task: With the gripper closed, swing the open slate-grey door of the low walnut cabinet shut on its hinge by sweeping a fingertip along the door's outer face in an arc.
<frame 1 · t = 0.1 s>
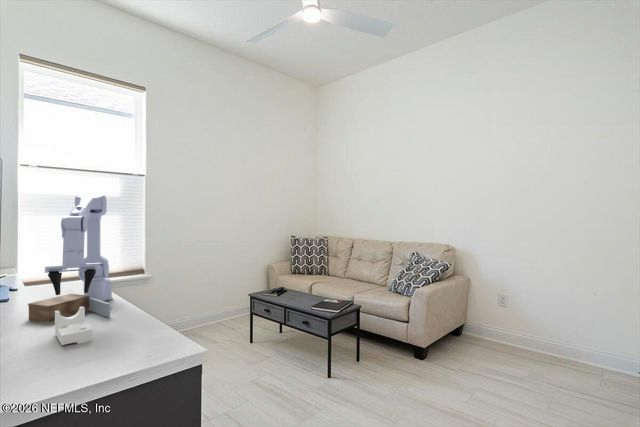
hand: (72, 293, 111), 10 cm above the table, tool pointing down, fingers open, 7 cm apart
door: (100, 306, 124), point 3 cm above the table, hinge at 75.0°
cabinet: (60, 315, 123), on the table
bracket: (73, 339, 101), on the table
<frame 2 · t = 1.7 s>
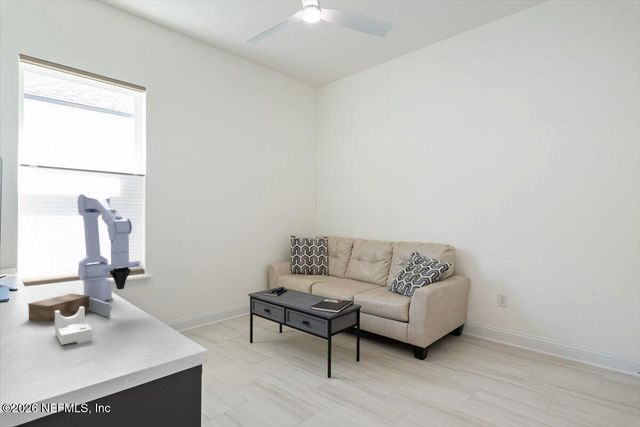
hand: (120, 288, 126), 9 cm above the table, tool pointing down, fingers closed
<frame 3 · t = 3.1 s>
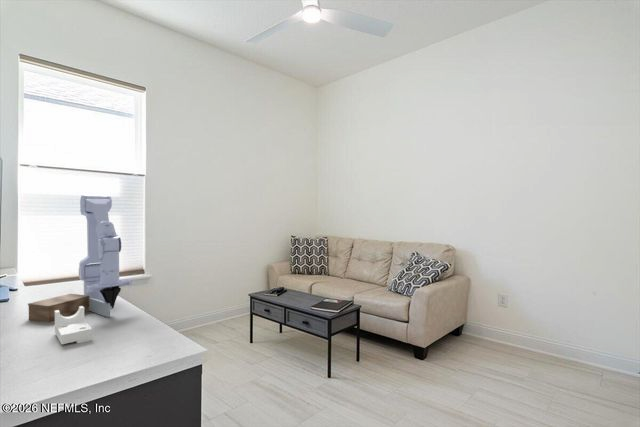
hand: (110, 308, 123), 2 cm above the table, tool pointing down, fingers closed
door: (100, 306, 124), point 3 cm above the table, hinge at 75.0°, touching gripper
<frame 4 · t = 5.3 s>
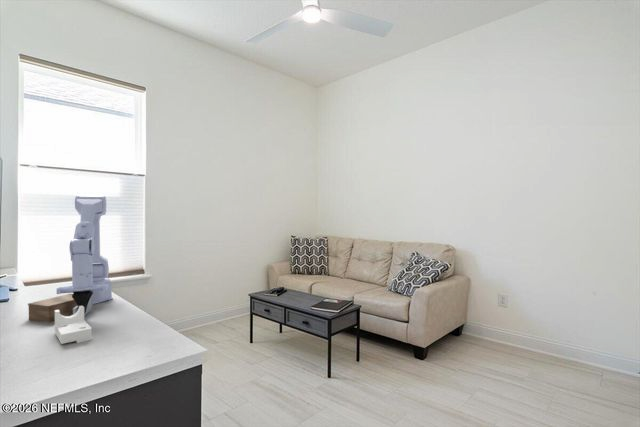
hand: (83, 313, 117), 2 cm above the table, tool pointing down, fingers closed
door: (84, 309, 121), point 3 cm above the table, hinge at 34.4°, touching gripper
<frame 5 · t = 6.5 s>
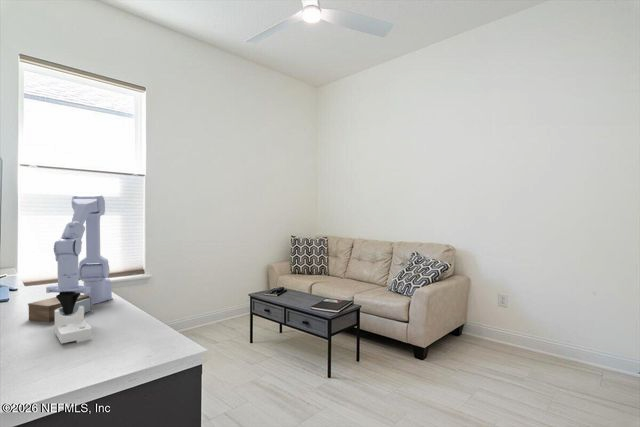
hand: (68, 314, 116), 2 cm above the table, tool pointing down, fingers closed
door: (76, 309, 121), point 3 cm above the table, hinge at 13.1°, touching gripper
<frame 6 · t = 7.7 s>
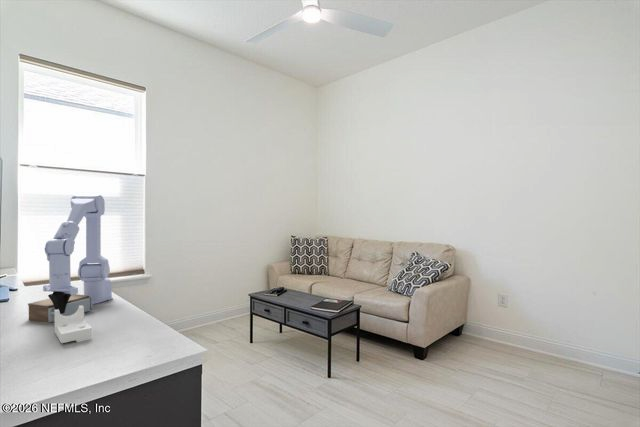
hand: (60, 313, 116), 2 cm above the table, tool pointing down, fingers closed
door: (72, 309, 121), point 3 cm above the table, hinge at -0.7°, touching gripper
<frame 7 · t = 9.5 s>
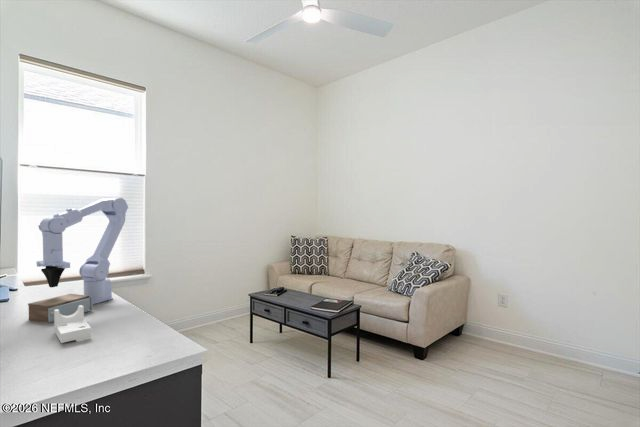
hand: (53, 286, 126), 9 cm above the table, tool pointing down, fingers closed
door: (71, 309, 121), point 3 cm above the table, hinge at -0.8°
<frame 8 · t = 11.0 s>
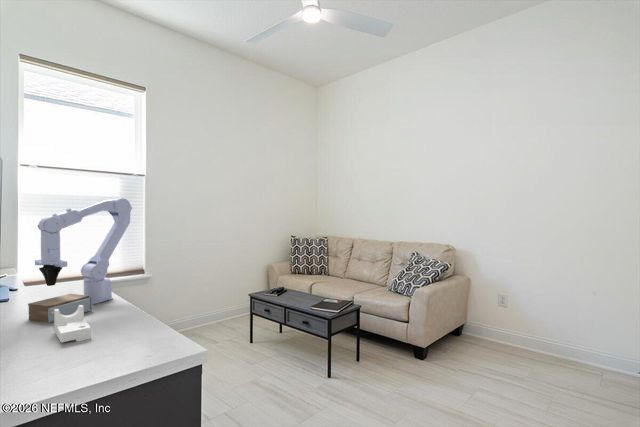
hand: (51, 285, 128), 9 cm above the table, tool pointing down, fingers closed
at the end: door at -1° (first picture: +75°); bracket moved 2.5 cm from its start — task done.
